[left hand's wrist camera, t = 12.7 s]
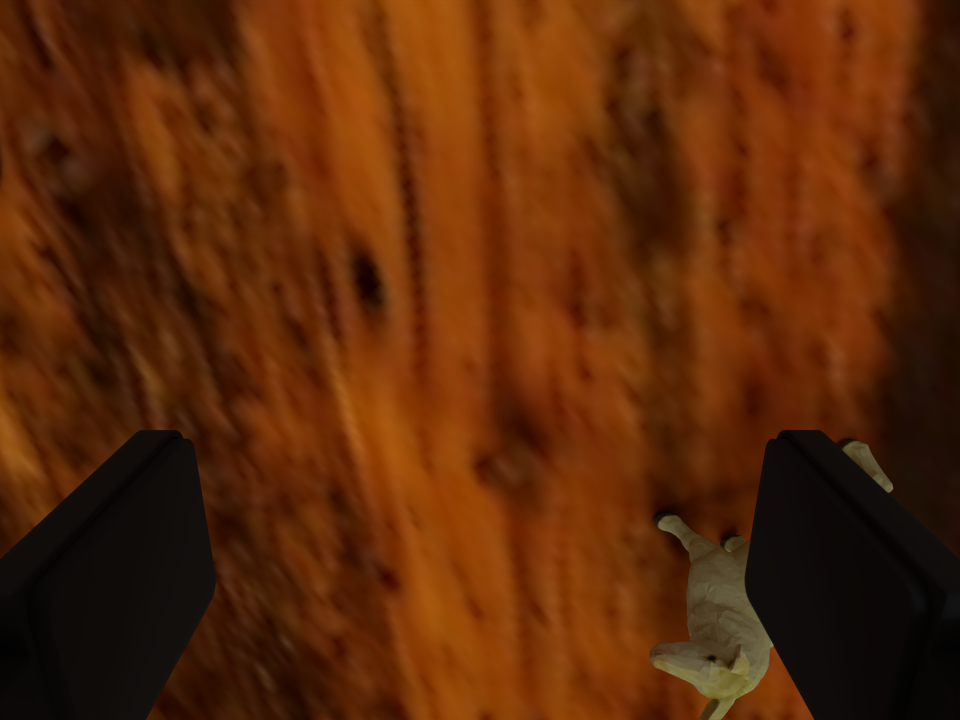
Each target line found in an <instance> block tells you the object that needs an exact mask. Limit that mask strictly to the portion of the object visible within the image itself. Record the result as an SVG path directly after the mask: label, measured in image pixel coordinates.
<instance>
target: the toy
mask: <svg viewBox="0 0 960 720" xmlns="http://www.w3.org/2000/svg"><path fill="white" fill-rule="evenodd" d="M838 447H840V448H841V449H842V450H843V451H844V452H845V453H846V454H847V455H848V456H849V457H850V458H851V459H852V460H854V461H855V462H856V463H857V464H858V465H859V466H860V467H861V468H862V469H863V470H864V471H865V472H866V473H867V474H869V475H870V476H871V477H872V478H873V479H874V480H875V481H876V482H877V483H878V484H879V485H880V486H881V487H883V488H884V489H885V490H886V491H887V492H891V491H892V489H893V486H892V483H891V482H890V481H889V479H888V478H887V477H886V475H885V474H884V472H883V471H882V470H881V468H880V467H879V465H878V464H877V462H876V461H875V459H874V457H873V456H872V454H871V452H870V450H869V447H868V445H867V444H864V443H861V442H858V441H855V440H851V439H848V440H846V441H843V442H841V444H840V445H839V446H838ZM653 522H654V524H655V526H657V527H658V528H659V529H661V530H664V531H668V532H671V533H673V534H674V535H676V536H677V537H678V538H679V539H680V540H681V542H682V544H683V546H684V547H685V548H686V549H687V550H688V551H689V556H690V561H691V563H692V565H691V568H690V571H689V577H688V587H687V598H686V599H687V615H688V623H687V626H688V628H689V634H690V636H691V641H686V642H674V643H665V642H660V643H659V644H657V645H656V646H654V647H653V648H652V650H651V651H650V659H651V662H652V665H654V666H655V667H656V668H659V669H661V670H663V671H666V672H668V673H670V674H673V675H675V676H677V677H679V678H682V679H684V680H686V681H688V682H690V683H692V684H693V685H694V686H695V687H696V688H697V690H698V691H699V692H700V693H701V694H703V695H704V696H706V697H707V698H712V699H713V700H712V701H711V702H710V703H708V704H707V706H706V707H705V709H704V711H703V712H702V714H701V716H700V718H699V720H720V719H721V718H722V717H723V716H724V715H725V714H726V712H727V711H728V710H729V708H730V707H731V706H732V704H733V702H734V701H735V699H736V698H738V697H740V696H742V695H744V694H746V693H748V692H750V691H752V690H753V689H754V688H755V687H756V685H757V684H758V683H759V681H760V680H761V679H762V677H763V676H764V674H765V672H766V670H767V668H768V666H769V653H770V648H771V647H772V646H774V645H773V644H772V642H771V640H770V638H769V636H768V635H767V633H766V631H765V629H764V627H763V625H762V624H761V622H760V620H759V618H758V616H757V615H756V613H755V611H754V609H753V607H752V605H751V604H750V602H749V600H748V598H747V595H746V591H745V583H744V577H745V570H746V564H747V558H748V551H749V545H750V540H748V541H747V542H746V541H745V539H744V538H743V536H742V535H728V536H726V537H725V538H724V539H723V540H722V541H721V543H720V546H721V547H722V548H724V549H725V550H724V549H722V548H721V547H719V546H718V545H716V544H714V543H712V542H711V541H710V540H707V539H704V538H703V537H702V536H701V535H698V534H696V533H695V532H693V531H692V530H691V529H690V528H689V527H688V526H686V525H685V524H684V523H683V522H682V520H681V519H680V518H679V517H678V516H676V515H673V514H671V513H663V514H659V515H657V516H656V517H655V519H654V521H653ZM726 550H727V551H726Z"/></svg>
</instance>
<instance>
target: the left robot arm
mask: <svg viewBox="0 0 960 720" xmlns="http://www.w3.org/2000/svg"><path fill="white" fill-rule="evenodd" d="M215 583H216V577H215V570H214V564H213V558H212V551H211V545H210V539H209V533H208V527H207V521H206V515H205V509H204V503H203V497H202V491H201V485H200V479H199V473H198V467H197V461H196V454H195V449H194V445H193V443H192V441H191V440H190V439H183V436H182V435H181V433H180V432H179V431H177V430H140V431H138V432H137V433H136V434H134V435H133V436H132V437H131V438H130V439H129V440H128V441H127V442H126V443H125V444H124V445H123V446H122V447H120V448H119V449H118V450H117V451H116V452H115V453H114V454H113V455H112V456H111V457H110V458H109V459H108V460H106V461H105V462H104V463H103V464H102V465H101V466H100V467H99V468H98V469H97V470H96V471H95V472H94V473H93V474H91V475H90V476H89V477H88V478H87V479H86V480H85V481H84V482H83V483H82V484H81V485H80V486H79V487H77V488H76V489H75V490H74V491H73V492H72V493H71V494H70V495H69V496H68V497H67V498H66V499H65V500H63V501H62V502H61V503H60V504H59V505H58V506H57V507H56V508H55V509H54V510H53V511H52V512H51V513H49V514H48V515H47V516H46V517H45V518H44V519H43V520H42V521H41V522H40V523H39V524H38V525H37V526H36V527H34V528H33V529H32V530H31V531H30V532H29V533H28V534H27V535H26V536H25V537H24V538H23V539H22V540H20V541H19V542H18V543H17V544H16V545H15V546H14V547H13V548H12V549H11V550H10V551H9V552H8V553H6V554H5V555H4V556H3V557H2V558H1V559H0V720H146V718H147V716H148V714H149V712H150V711H151V709H152V707H153V705H154V703H155V702H156V700H157V698H158V696H159V694H160V693H161V691H162V689H163V687H164V685H165V683H166V682H167V680H168V678H169V676H170V674H171V673H172V671H173V669H174V667H175V665H176V664H177V662H178V660H179V658H180V656H181V654H182V653H183V651H184V649H185V647H186V645H187V644H188V642H189V640H190V638H191V636H192V635H193V633H194V631H195V629H196V627H197V625H198V624H199V622H200V620H201V618H202V616H203V615H204V613H205V611H206V609H207V607H208V605H209V604H210V602H211V600H212V598H213V595H214V591H215ZM744 583H745V591H746V595H747V598H748V600H749V602H750V604H751V605H752V607H753V609H754V611H755V613H756V615H757V616H758V618H759V620H760V622H761V624H762V625H763V627H764V629H765V631H766V633H767V635H768V636H769V638H770V640H771V642H772V644H773V645H774V647H775V649H776V651H777V653H778V654H779V656H780V658H781V660H782V662H783V664H784V665H785V667H786V669H787V671H788V673H789V674H790V676H791V678H792V680H793V682H794V683H795V685H796V687H797V689H798V691H799V693H800V694H801V696H802V698H803V700H804V702H805V703H806V705H807V707H808V709H809V711H810V712H811V714H812V716H813V718H814V720H960V559H959V558H958V557H957V556H956V555H955V554H954V553H952V552H951V551H950V550H949V549H948V548H947V547H946V546H945V545H944V544H943V543H942V542H941V541H940V540H938V539H937V538H936V537H935V536H934V535H933V534H932V533H931V532H930V531H929V530H928V529H927V528H926V527H924V526H923V525H922V524H921V523H920V522H919V521H918V520H917V519H916V518H915V517H914V516H913V515H912V514H911V513H909V512H908V511H907V510H906V509H905V508H904V507H903V506H902V505H901V504H900V503H899V502H898V501H897V500H895V499H894V498H893V497H892V496H891V495H890V494H889V493H888V492H887V491H886V490H885V489H884V488H883V487H881V486H880V485H879V484H878V483H877V482H876V481H875V480H874V479H873V478H872V477H871V476H870V475H869V474H867V473H866V472H865V471H864V470H863V469H862V468H861V467H860V466H859V465H858V464H857V463H856V462H855V461H854V460H852V459H851V458H850V457H849V456H848V455H847V454H846V453H845V452H844V451H843V450H842V449H841V448H840V447H838V446H837V445H836V444H835V443H834V442H833V441H832V440H831V439H830V438H829V437H828V436H827V435H826V434H824V433H823V432H822V431H820V430H783V431H781V432H780V433H779V435H778V436H777V439H770V440H769V441H768V443H767V445H766V449H765V454H764V461H763V467H762V473H761V479H760V485H759V491H758V497H757V503H756V509H755V515H754V521H753V527H752V533H751V539H750V545H749V551H748V558H747V564H746V570H745V577H744Z"/></svg>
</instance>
